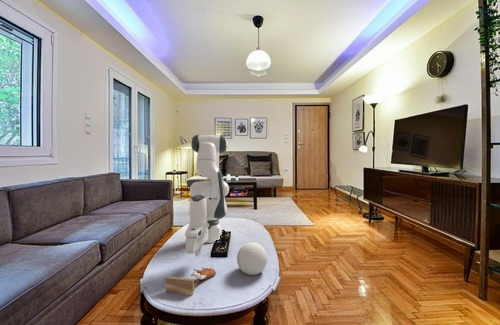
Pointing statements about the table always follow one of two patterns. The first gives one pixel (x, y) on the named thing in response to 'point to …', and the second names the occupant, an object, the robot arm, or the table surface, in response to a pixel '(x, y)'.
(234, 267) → the table surface
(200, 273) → the bull figurine
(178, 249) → the table surface
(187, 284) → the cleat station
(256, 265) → the decorative object
